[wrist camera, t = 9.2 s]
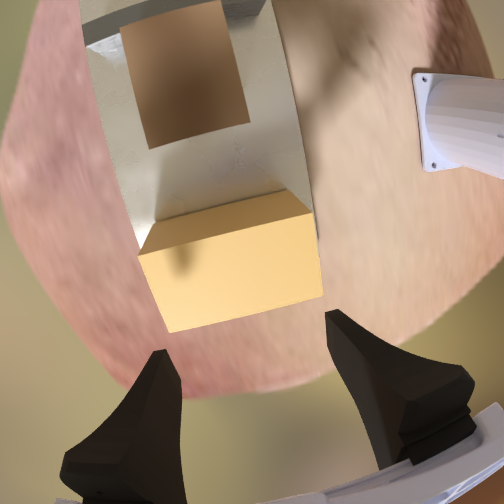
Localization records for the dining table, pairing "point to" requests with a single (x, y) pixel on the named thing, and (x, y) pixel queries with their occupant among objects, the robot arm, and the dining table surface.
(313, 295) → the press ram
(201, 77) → the brown wooden block
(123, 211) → the dining table surface
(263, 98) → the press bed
